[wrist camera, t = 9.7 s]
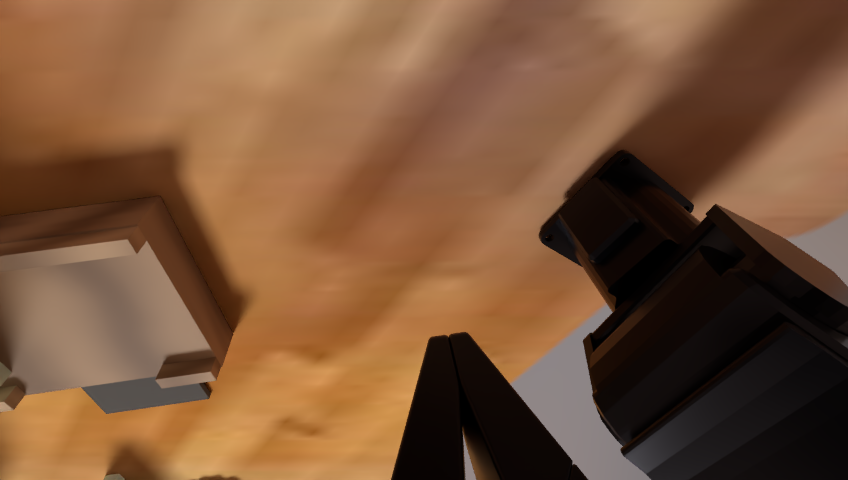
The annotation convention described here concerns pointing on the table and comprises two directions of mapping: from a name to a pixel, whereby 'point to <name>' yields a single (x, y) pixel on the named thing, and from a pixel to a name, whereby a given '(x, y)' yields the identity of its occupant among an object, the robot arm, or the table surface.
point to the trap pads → (142, 394)
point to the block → (4, 373)
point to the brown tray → (103, 301)
